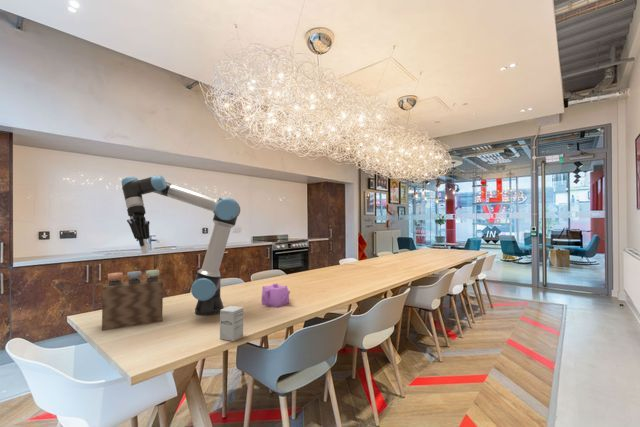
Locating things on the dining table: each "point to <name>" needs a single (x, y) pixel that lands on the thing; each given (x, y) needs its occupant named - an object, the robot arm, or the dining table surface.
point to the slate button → (134, 275)
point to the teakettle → (275, 295)
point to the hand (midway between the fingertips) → (145, 252)
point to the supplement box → (231, 323)
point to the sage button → (152, 273)
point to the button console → (132, 303)
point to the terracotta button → (115, 276)
